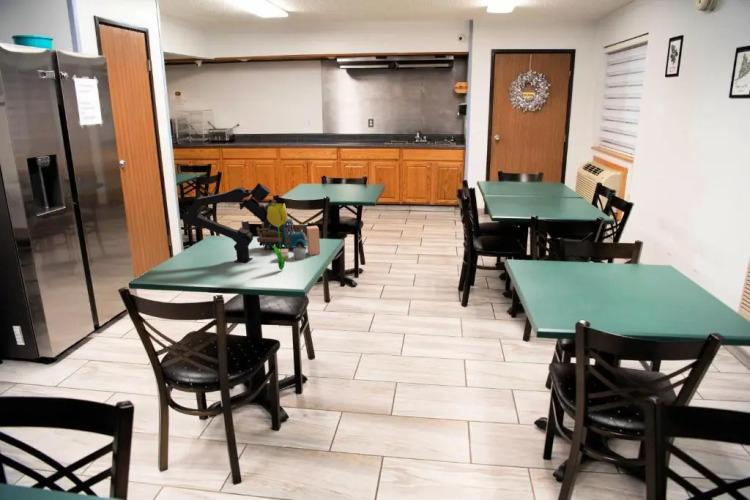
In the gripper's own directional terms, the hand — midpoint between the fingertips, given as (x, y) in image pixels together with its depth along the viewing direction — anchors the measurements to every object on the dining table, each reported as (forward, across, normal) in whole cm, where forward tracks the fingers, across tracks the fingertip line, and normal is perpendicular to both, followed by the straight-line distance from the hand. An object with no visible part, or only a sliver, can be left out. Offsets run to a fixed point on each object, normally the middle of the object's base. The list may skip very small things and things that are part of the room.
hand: (281, 229), depth 249 cm
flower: (+8, -21, +12) cm, 25 cm away
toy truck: (+11, +17, +8) cm, 22 cm away
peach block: (+20, +3, -1) cm, 20 cm away
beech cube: (+9, -3, +10) cm, 14 cm away
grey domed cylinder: (+15, -3, +5) cm, 16 cm away
